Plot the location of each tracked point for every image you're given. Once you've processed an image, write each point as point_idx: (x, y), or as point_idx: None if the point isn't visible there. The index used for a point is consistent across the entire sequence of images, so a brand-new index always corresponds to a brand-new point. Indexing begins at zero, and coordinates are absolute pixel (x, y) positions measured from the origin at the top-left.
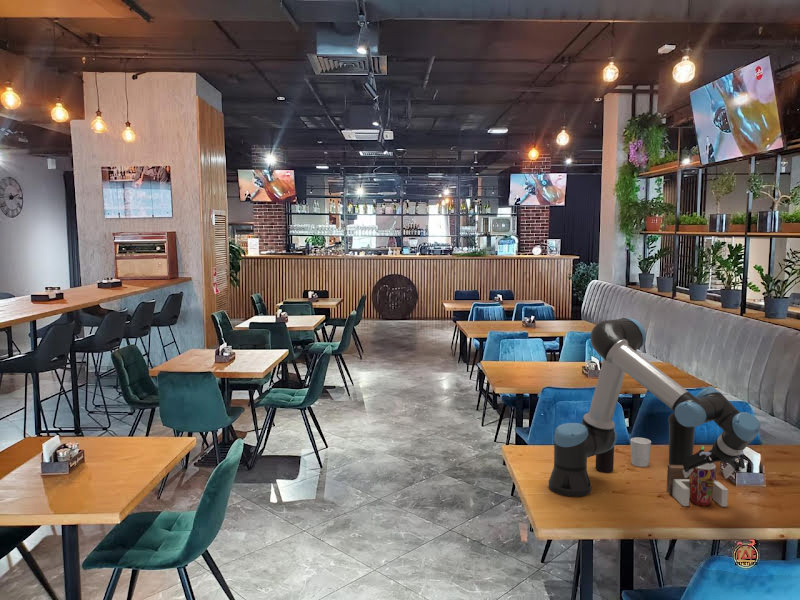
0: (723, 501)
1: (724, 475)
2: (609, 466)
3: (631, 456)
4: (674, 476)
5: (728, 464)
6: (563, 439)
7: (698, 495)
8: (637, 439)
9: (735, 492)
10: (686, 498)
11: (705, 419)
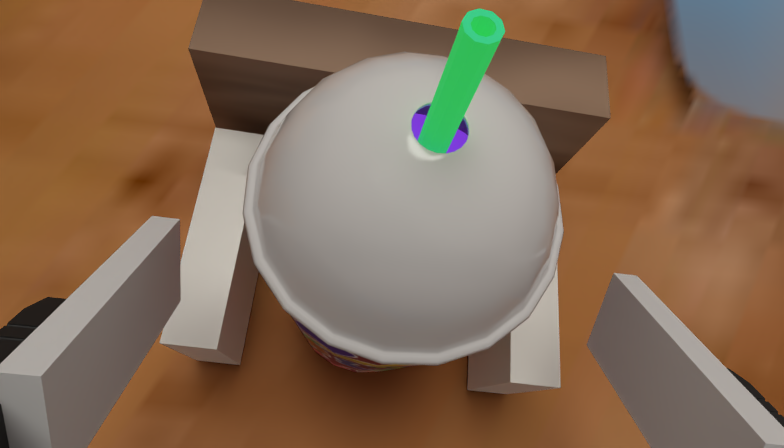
0: (490, 388)
1: (598, 330)
2: None
3: None
4: (238, 105)
5: (721, 403)
6: None
7: (314, 348)
8: None
9: (653, 189)
10: (207, 357)
11: None
